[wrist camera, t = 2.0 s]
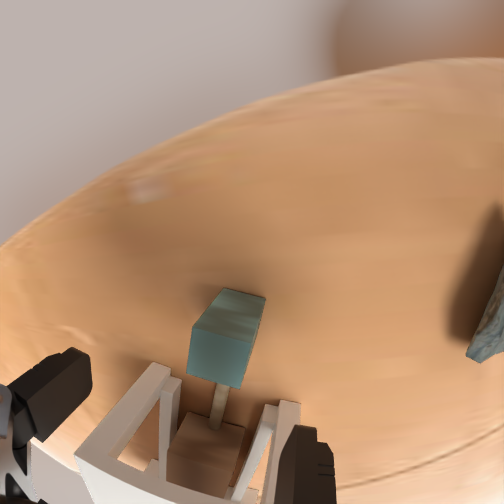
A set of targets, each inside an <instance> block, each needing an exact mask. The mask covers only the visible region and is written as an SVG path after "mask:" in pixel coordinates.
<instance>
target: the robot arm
mask: <svg viewBox="0 0 504 504" xmlns="http://www.w3.org/2000/svg"><path fill="white" fill-rule="evenodd" d="M91 390H92V374H91V363H90V357H89V355H88V354H86V353H84V352H82V351H80V350H78V349H76V348H74V347H71V348H69V349H67V350H66V351H65V352H63V353H62V354H60V353H57V354H54V355H51V356H48V357H46V358H45V359H43V360H42V361H41V362H39V364H37V365H35V366H34V367H33V369H30V370H28V371H27V372H25V373H24V374H23V375H21V376H20V377H19V378H17V379H16V380H15V381H13V382H12V383H10V384H9V385H8V386H4V385H2V384H0V504H48V503H46V502H45V501H44V500H42V499H40V500H39V502H38V500H37V496H36V492H35V489H34V487H33V483H32V476H31V442H30V439H31V438H32V437H33V436H34V437H35V438H37V439H38V440H39V441H41V442H42V443H43V442H44V441H45V440H46V439H47V438H48V437H49V436H50V435H51V434H52V433H53V432H54V431H55V430H56V429H57V428H58V427H59V426H60V425H61V424H62V423H63V422H64V421H65V420H66V418H67V417H68V416H69V415H70V414H71V413H72V412H73V411H74V410H75V409H76V408H77V407H78V406H79V405H80V404H81V403H82V402H83V401H84V400H85V399H86V398H87V397H88V396H89V394H90V392H91ZM334 476H335V469H334V457H333V453H332V451H331V449H330V448H329V446H328V444H327V443H323V442H317V429H316V428H315V427H309V426H303V425H297V424H295V425H294V427H293V429H292V431H291V433H290V435H289V437H288V439H287V441H286V443H285V445H284V447H283V449H282V452H281V455H280V459H279V464H278V473H277V481H276V489H275V497H274V504H337V501H336V484H335V477H334Z"/></svg>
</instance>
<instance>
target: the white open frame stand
mask: <svg viewBox="0 0 504 504" xmlns="http://www.w3.org/2000/svg"><path fill="white" fill-rule="evenodd" d="M170 375H171V368H169V367H166V366H164V365H161V364H158V363H155V362H152V363H151V364H150V366H149V367H148V368H147V369H146V370H145V371H144V373H143V374H142V375H141V376H140V377H139V378H138V379H137V381H136V382H135V383H134V384H133V385H132V386H131V388H130V389H129V390H128V391H127V392H126V393H125V394H124V396H123V397H122V398H121V399H120V400H119V401H118V403H117V404H116V405H115V406H114V407H113V408H112V410H111V411H110V412H109V413H108V414H107V415H106V416H105V418H104V419H103V420H102V421H101V422H100V423H99V425H98V426H97V427H96V428H95V429H94V430H93V432H92V433H91V434H90V435H89V436H88V437H87V439H86V440H85V441H84V442H83V443H82V444H81V446H80V447H79V448H78V449H77V450H76V451H75V452H74V454H73V455H74V457H75V460H76V463H77V465H78V468H79V470H80V472H81V475H82V477H83V479H84V482H85V484H86V486H87V488H88V491H89V493H90V495H91V497H92V499H93V501H94V503H95V504H256V501H257V496H258V491H259V490H255V489H250V488H247V487H248V485H249V483H250V481H251V479H252V476H253V474H254V472H255V470H256V468H257V466H258V463H259V461H260V459H261V457H262V454H263V452H264V450H265V448H266V445H267V443H268V441H269V438H270V436H271V433H272V439H271V445H270V452H269V458H268V464H267V470H266V475H265V481H264V487H263V492H262V498H261V503H260V504H274V497H275V489H276V481H277V473H278V464H279V459H280V455H281V452H282V449H283V447H284V445H285V443H286V441H287V439H288V437H289V435H290V433H291V431H292V429H293V427H294V425H295V424H297V425H300V411H301V404H300V403H295V402H290V401H286V400H280V402H279V405H278V406H273V405H269V404H265V406H264V409H263V412H262V415H261V418H260V421H259V424H258V426H257V429H256V432H255V435H254V437H253V440H252V443H251V445H250V448H249V451H248V453H247V456H246V459H245V461H244V464H243V466H242V469H241V471H240V474H239V476H238V479H237V481H236V484H235V486H234V487H230V486H228V489H227V491H226V494H225V497H224V499H221V498H218V497H214V496H210V495H207V494H203V493H200V492H197V491H193V490H190V489H187V488H184V487H181V486H178V485H176V484H173V483H170V482H167V481H166V462H167V450H168V448H169V446H170V445H171V443H172V441H173V439H174V437H175V435H176V433H177V423H178V412H179V402H180V393H181V384H182V380H181V379H178V378H175V377H172V376H170ZM159 398H160V413H159V461H157V460H155V459H151V461H150V463H149V464H148V466H147V468H146V469H145V471H144V472H143V471H140V470H138V469H136V468H134V467H131V466H129V465H127V464H125V463H123V462H121V461H119V460H117V458H118V457H119V455H120V454H121V452H122V451H123V450H124V448H125V447H126V445H127V444H128V442H129V441H130V440H131V438H132V437H133V435H134V434H135V432H136V431H137V429H138V428H139V427H140V425H141V424H142V422H143V421H144V419H145V418H146V417H147V415H148V414H149V412H150V411H151V409H152V408H153V406H154V405H155V404H156V402H157V401H158V399H159ZM272 431H273V432H272Z"/></svg>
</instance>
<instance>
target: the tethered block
mask: <svg viewBox="0 0 504 504" xmlns="http://www.w3.org/2000/svg"><path fill="white" fill-rule="evenodd" d="M265 301H266V299H265V298H261V297H257V296H253V295H249V294H245V293H241V292H238V291H234V290H230V289H226V288H223V289H222V291H221V292H220V293H219V294H218V296H217V297H216V298H215V299H214V301H213V302H212V303H211V304H210V306H209V307H208V308H207V309H206V311H205V312H204V313H203V314H202V316H201V317H200V318H199V319H198V321H197V322H196V323H195V324H194V326H193V327H192V334H191V341H190V348H189V355H188V363H187V371H186V373H187V374H190V375H193V376H196V377H199V378H202V379H206V380H209V381H212V382H215V383H217V384H216V389H215V394H214V399H213V404H212V409H211V414H210V418H207V417H204V416H200V415H197V414H194V413H191V412H188V413H187V415H186V416H185V418H184V420H183V422H182V424H181V426H180V428H179V430H178V431H177V433H176V435H175V437H174V439H173V441H172V443H171V445H170V446H169V448H168V450H167V462H166V481H167V482H170V483H173V484H176V485H178V486H181V487H184V488H187V489H190V490H193V491H197V492H200V493H203V494H207V495H210V496H214V497H218V498H221V499H224V497H225V494H226V491H227V489H228V486H229V483H230V481H231V478H232V475H233V472H234V469H235V465H236V462H237V458H238V455H239V451H240V447H241V444H242V440H243V436H244V432H245V429H246V428H242V427H238V426H235V425H231V424H227V423H224V422H222V418H223V414H224V410H225V406H226V402H227V398H228V393H229V389H230V387H233V388H237V389H240V386H241V383H242V380H243V377H244V374H245V371H246V368H247V365H248V362H249V359H250V355H251V352H252V349H253V346H254V343H255V339H256V336H257V332H258V328H259V325H260V321H261V317H262V313H263V309H264V305H265Z"/></svg>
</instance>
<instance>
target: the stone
mask: <svg viewBox="0 0 504 504" xmlns="http://www.w3.org/2000/svg"><path fill="white" fill-rule="evenodd" d="M502 351H504V264H503V267H502V269H501V272H500V275H499V278H498V281H497V284H496V287H495V289H494V292H493V294H492V296H491V298H490V300H489V302H488V304H487V307H486V309H485V312H484V314H483V316H482V319H481V321H480V323H479V326H478V328H477V330H476V332H475V334H474V336H473V338H472V340H471V342H470V345H469V347H468V349H467V352H466V357H469V358H471V359H472V360H474V361H476V362H478V363H482V362H483V361H485V360H486V359H488V358H489V357H491V356H493V355H494V354H498V353H500V352H502Z"/></svg>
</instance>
